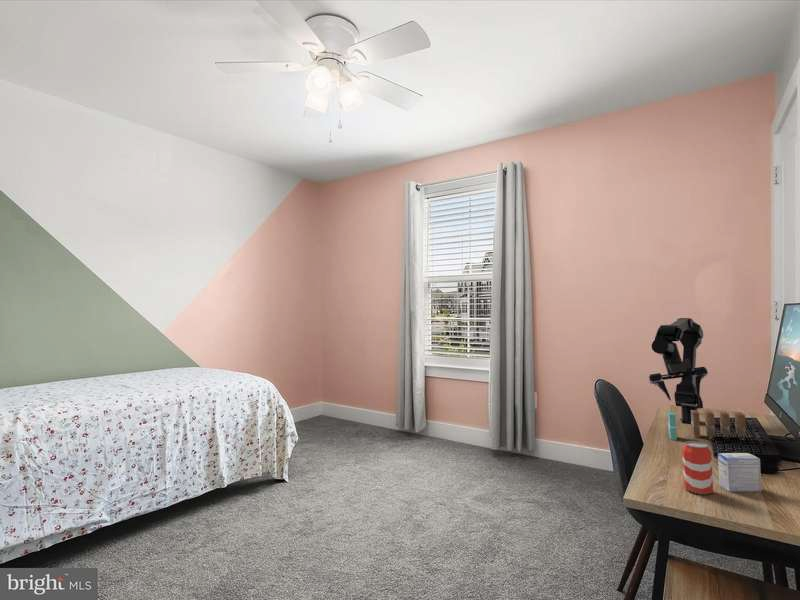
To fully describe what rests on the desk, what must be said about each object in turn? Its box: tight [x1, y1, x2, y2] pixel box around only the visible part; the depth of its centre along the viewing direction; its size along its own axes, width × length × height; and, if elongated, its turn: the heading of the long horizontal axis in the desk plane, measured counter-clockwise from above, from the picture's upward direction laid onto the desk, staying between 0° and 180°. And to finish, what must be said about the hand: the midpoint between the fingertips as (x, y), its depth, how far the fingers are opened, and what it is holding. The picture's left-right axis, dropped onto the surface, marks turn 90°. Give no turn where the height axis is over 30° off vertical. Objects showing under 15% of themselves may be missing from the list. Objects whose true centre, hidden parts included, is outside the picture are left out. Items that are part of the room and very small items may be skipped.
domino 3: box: [719, 410, 731, 436], centre depth 164 cm, size 2×5×9 cm, turn 156°
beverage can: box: [681, 440, 714, 495], centre depth 119 cm, size 6×6×12 cm
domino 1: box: [690, 410, 701, 439], centre depth 168 cm, size 2×5×9 cm, turn 156°
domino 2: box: [704, 410, 716, 440], centre depth 166 cm, size 2×5×9 cm, turn 156°
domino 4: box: [734, 411, 747, 437], centre depth 162 cm, size 2×5×9 cm, turn 156°
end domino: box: [667, 411, 678, 441], centre depth 166 cm, size 2×5×9 cm, turn 156°
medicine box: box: [717, 452, 762, 492], centre depth 119 cm, size 8×4×9 cm, turn 84°
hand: (684, 398), depth 168 cm, fingers open, 9 cm apart
